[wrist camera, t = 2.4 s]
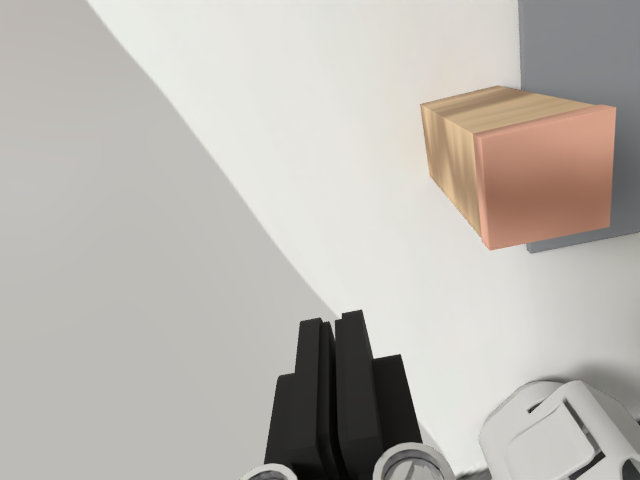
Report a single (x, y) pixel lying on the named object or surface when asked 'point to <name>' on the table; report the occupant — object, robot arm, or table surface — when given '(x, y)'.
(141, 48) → the table surface
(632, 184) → the rubber mat
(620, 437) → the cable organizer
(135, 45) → the table surface
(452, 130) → the oak block
